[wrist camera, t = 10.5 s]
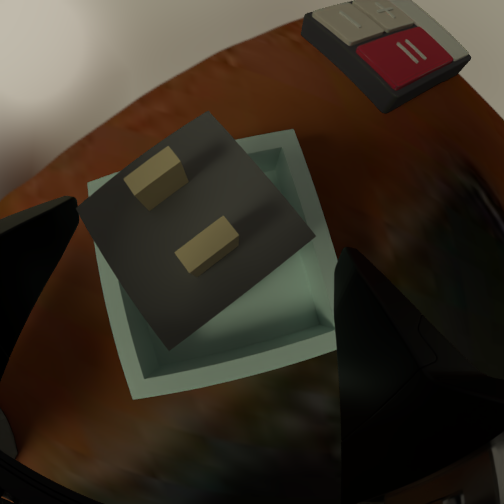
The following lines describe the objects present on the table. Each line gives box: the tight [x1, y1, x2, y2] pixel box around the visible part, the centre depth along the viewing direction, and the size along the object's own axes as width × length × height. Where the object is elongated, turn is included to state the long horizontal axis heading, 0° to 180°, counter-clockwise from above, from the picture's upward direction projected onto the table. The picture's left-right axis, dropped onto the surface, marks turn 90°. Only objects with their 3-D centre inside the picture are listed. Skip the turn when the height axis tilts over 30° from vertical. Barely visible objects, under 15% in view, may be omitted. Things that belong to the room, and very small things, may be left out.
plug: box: [76, 111, 316, 351], centre depth 12 cm, size 4×4×12 cm
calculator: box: [301, 0, 471, 113], centre depth 21 cm, size 11×4×15 cm
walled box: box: [88, 129, 338, 399], centre depth 17 cm, size 12×12×4 cm
